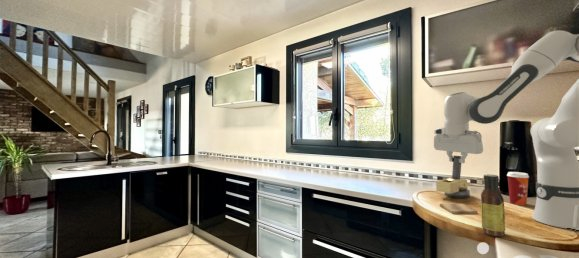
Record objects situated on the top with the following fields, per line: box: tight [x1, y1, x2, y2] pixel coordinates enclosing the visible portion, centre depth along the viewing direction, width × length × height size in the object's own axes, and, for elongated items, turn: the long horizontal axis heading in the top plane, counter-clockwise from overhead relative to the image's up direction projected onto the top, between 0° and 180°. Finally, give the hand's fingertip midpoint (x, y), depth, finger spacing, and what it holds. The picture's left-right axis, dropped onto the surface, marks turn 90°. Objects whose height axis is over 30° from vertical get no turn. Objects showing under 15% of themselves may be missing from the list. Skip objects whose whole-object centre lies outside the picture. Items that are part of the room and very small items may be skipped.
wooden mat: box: [439, 203, 478, 215], centre depth 110 cm, size 10×10×1 cm
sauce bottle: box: [480, 173, 506, 237], centre depth 86 cm, size 7×6×20 cm
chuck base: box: [443, 188, 471, 199], centre depth 131 cm, size 11×11×3 cm
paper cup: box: [506, 171, 530, 206], centre depth 116 cm, size 8×8×14 cm
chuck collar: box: [435, 177, 468, 194], centre depth 129 cm, size 16×9×5 cm, turn 117°
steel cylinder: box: [451, 155, 462, 180], centre depth 110 cm, size 3×3×10 cm
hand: (456, 162), depth 110 cm, fingers closed on steel cylinder, 3 cm apart
